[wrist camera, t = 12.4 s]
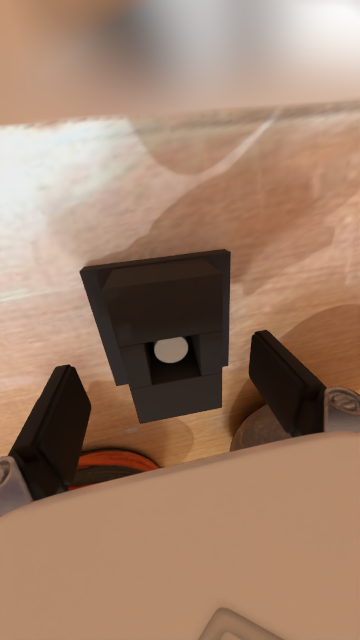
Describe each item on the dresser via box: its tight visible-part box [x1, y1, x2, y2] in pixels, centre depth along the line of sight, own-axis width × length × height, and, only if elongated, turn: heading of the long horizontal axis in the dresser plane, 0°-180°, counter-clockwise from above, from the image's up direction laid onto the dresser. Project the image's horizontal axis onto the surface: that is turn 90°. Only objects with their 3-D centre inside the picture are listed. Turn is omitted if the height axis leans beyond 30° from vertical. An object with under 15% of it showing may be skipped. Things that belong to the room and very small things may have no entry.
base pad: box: [80, 249, 231, 386], centre depth 15 cm, size 10×10×4 cm
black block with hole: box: [102, 258, 222, 424], centre depth 14 cm, size 10×6×4 cm, turn 5°
